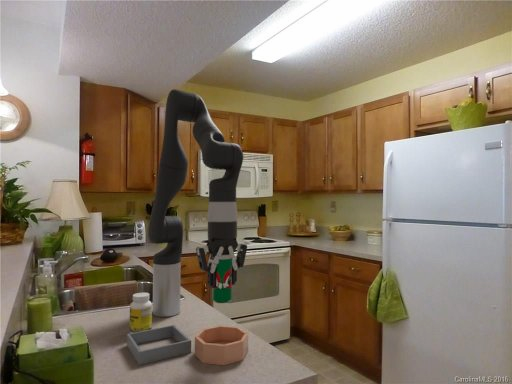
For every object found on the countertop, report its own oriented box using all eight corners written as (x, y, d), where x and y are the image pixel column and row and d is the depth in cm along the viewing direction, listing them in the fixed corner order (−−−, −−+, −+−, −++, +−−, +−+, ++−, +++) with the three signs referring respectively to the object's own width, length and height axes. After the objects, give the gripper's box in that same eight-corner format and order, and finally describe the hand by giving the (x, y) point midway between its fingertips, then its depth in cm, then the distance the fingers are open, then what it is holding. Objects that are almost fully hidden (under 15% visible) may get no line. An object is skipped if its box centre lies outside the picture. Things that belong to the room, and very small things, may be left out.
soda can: (232, 298, 91) (232, 252, 92) (231, 303, 86) (232, 255, 87) (213, 298, 91) (213, 252, 92) (211, 303, 86) (211, 255, 86)
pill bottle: (125, 332, 102) (125, 294, 102) (144, 326, 106) (145, 290, 107) (136, 338, 98) (136, 298, 98) (155, 332, 102) (156, 294, 102)
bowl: (189, 349, 90) (189, 331, 91) (231, 339, 97) (231, 322, 97) (209, 369, 80) (209, 349, 80) (255, 356, 87) (256, 338, 87)
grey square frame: (126, 345, 93) (126, 334, 93) (173, 335, 100) (174, 324, 100) (139, 365, 82) (139, 352, 82) (191, 352, 89) (191, 340, 89)
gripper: (239, 218, 96) (239, 279, 96) (190, 219, 89) (190, 286, 88) (253, 219, 90) (253, 285, 90) (202, 221, 82) (202, 293, 82)
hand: (222, 285), depth 89 cm, fingers closed on soda can, 5 cm apart
